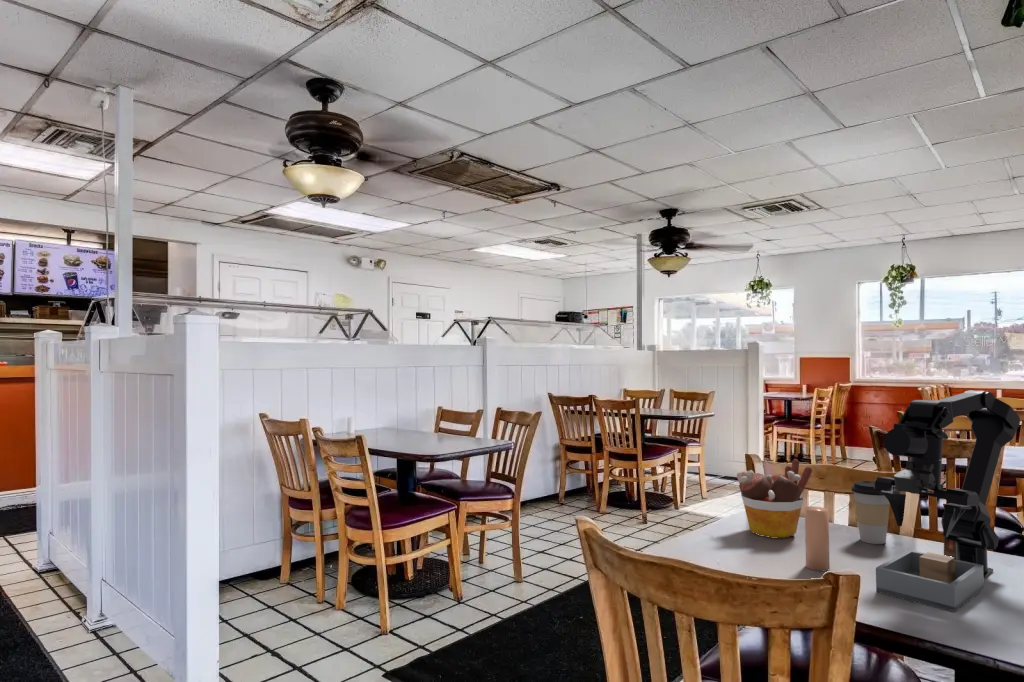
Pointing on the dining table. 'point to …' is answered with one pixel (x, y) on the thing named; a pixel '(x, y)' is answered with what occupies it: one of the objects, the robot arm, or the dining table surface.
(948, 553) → the tin
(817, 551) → the cylinder
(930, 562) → the cube
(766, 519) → the bucket of meat
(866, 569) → the dining table surface
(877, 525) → the coffee cup
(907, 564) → the tote
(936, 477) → the robot arm
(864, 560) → the dining table surface
